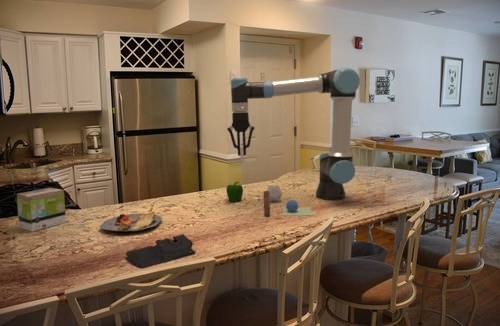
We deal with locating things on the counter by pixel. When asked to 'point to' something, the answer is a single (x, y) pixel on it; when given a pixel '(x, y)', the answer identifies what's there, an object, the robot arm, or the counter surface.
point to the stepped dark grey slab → (162, 252)
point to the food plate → (131, 222)
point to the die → (274, 193)
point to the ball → (292, 205)
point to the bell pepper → (234, 192)
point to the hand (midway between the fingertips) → (242, 162)
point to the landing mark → (298, 212)
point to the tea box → (41, 209)
